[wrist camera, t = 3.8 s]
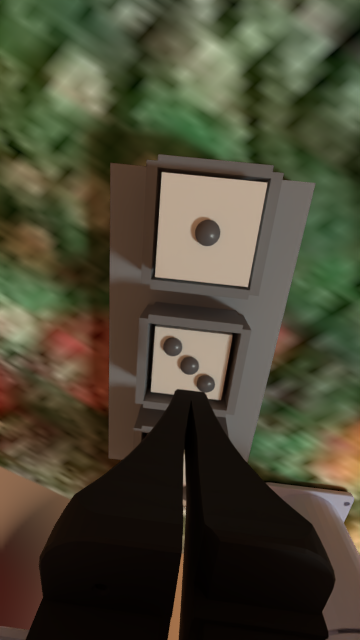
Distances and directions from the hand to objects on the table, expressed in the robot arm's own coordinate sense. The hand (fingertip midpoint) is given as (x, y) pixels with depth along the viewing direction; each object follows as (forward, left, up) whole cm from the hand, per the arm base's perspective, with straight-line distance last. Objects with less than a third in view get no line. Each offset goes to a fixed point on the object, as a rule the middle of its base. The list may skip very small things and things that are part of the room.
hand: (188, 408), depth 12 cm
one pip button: (+8, 0, -4) cm, 9 cm away
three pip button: (0, 0, -6) cm, 6 cm away
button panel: (0, 0, -8) cm, 8 cm away
